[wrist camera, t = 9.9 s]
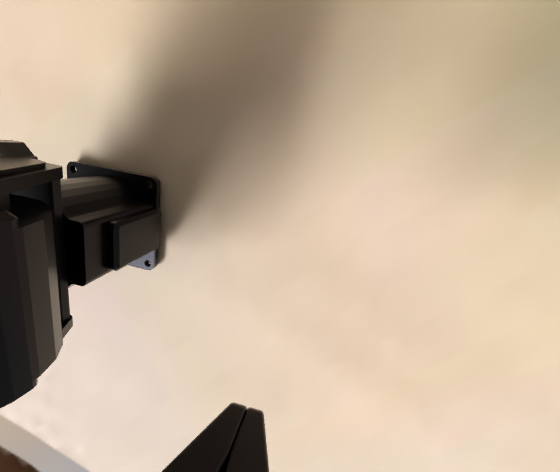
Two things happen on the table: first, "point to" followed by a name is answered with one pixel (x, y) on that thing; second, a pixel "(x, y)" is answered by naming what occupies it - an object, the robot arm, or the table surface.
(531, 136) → the table surface
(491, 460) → the table surface
